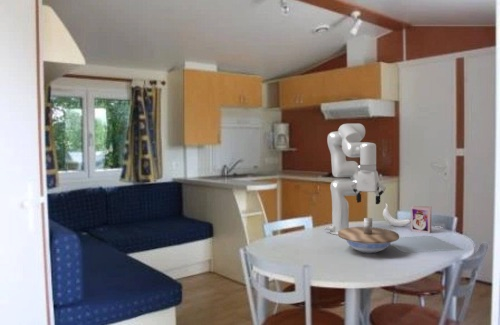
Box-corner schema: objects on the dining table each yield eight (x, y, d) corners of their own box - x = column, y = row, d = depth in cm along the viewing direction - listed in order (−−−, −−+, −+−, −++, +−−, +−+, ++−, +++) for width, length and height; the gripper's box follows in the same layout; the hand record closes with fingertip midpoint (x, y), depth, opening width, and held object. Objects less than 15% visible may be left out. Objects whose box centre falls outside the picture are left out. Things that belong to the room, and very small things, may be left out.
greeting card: (410, 231, 256) (410, 206, 255) (416, 229, 261) (416, 204, 260) (429, 234, 248) (429, 208, 247) (434, 232, 253) (435, 206, 252)
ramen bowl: (357, 260, 198) (357, 242, 198) (334, 248, 220) (334, 232, 220) (404, 255, 205) (404, 238, 204) (377, 244, 227) (377, 229, 226)
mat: (403, 253, 208) (403, 252, 208) (378, 238, 239) (378, 237, 239) (464, 250, 211) (464, 249, 211) (432, 236, 242) (432, 235, 242)
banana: (410, 229, 262) (410, 205, 261) (381, 225, 275) (381, 202, 275) (413, 227, 266) (413, 204, 265) (384, 224, 279) (384, 201, 278)
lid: (348, 244, 197) (348, 226, 196) (331, 229, 225) (331, 213, 225) (409, 242, 199) (410, 224, 198) (384, 227, 228) (384, 212, 227)
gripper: (348, 168, 213) (348, 202, 214) (382, 169, 202) (382, 205, 203) (355, 167, 219) (355, 200, 220) (388, 168, 207) (388, 203, 208)
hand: (368, 203), depth 211 cm, fingers open, 9 cm apart
